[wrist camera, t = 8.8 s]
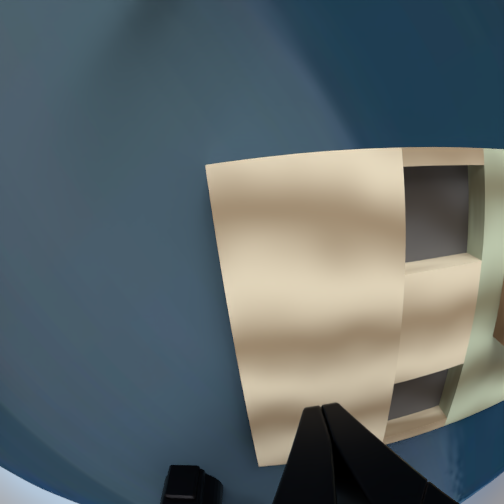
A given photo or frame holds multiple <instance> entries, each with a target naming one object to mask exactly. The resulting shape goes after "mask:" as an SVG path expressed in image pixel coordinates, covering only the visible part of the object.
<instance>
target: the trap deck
mask: <svg viewBox="0 0 504 504" xmlns="http://www.w3.org/2000/svg"><path fill="white" fill-rule="evenodd" d="M205 166H206V173H207V180H208V187H209V194H210V201H211V208H212V214H213V221H214V227H215V234H216V240H217V246H218V253H219V259H220V265H221V271H222V277H223V283H224V289H225V295H226V300H227V306H228V312H229V318H230V323H231V329H232V334H233V340H234V345H235V351H236V356H237V361H238V367H239V372H240V377H241V382H242V388H243V393H244V398H245V403H246V408H247V413H248V418H249V423H250V427H251V432H252V437H253V442H254V447H255V451H256V456H257V461H258V465H259V467H260V466H271V465H280V464H286V463H287V460H288V457H289V454H290V451H291V448H292V445H293V441H294V438H295V435H296V432H297V428H298V425H299V422H300V418H301V415H302V412H303V409H304V408H305V407H310V406H317V405H319V406H320V407H321V406H322V405H323V404H328V403H334V402H337V403H339V404H340V405H341V406H342V407H343V408H344V409H346V410H347V411H348V412H349V413H350V414H351V415H352V416H353V417H355V418H356V419H357V420H358V421H359V422H360V423H361V424H362V425H364V426H365V427H366V428H367V429H368V430H369V431H370V432H371V433H373V434H374V435H375V436H376V437H377V438H378V439H380V440H381V441H382V442H383V443H384V444H385V445H386V444H389V443H393V442H396V441H400V440H403V439H406V438H410V437H413V436H416V435H419V434H422V433H425V432H428V431H431V430H434V429H437V428H439V427H442V426H445V425H448V424H450V423H453V422H455V421H458V420H460V419H463V418H465V417H468V416H470V415H472V414H475V413H477V412H479V411H482V410H484V409H486V408H488V407H490V406H492V405H495V404H497V403H499V402H501V401H503V400H504V346H503V345H502V344H501V343H500V342H499V341H497V340H496V339H495V338H494V337H493V332H494V328H495V323H496V319H497V314H498V309H499V304H500V298H501V292H502V286H503V279H504V149H485V148H453V147H408V148H375V149H354V150H338V151H324V152H311V153H300V154H290V155H280V156H271V157H262V158H254V159H246V160H238V161H231V162H223V163H217V164H210V165H205Z"/></svg>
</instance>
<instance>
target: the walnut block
mask: <svg viewBox="0 0 504 504" xmlns="http://www.w3.org/2000/svg"><path fill="white" fill-rule="evenodd" d="M493 337H494V338H495V339H496V340H497V341H499V342H500V343H501V344H502V345H503V346H504V279H503V286H502V292H501V298H500V304H499V309H498V314H497V319H496V323H495V328H494V332H493Z"/></svg>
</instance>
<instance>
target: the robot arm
mask: <svg viewBox="0 0 504 504" xmlns="http://www.w3.org/2000/svg"><path fill="white" fill-rule="evenodd" d="M222 493H223V486H222V484H221V482H220V481H219V480H217V479H216V478H214V477H212V476H210V475H208V474H206V473H205V471H204V470H203V469H200V467H199V466H192V465H171V466H170V468H169V472H168V475H167V476H166V479H165V483H164V488H163V492H162V497H161V502H160V504H222ZM272 504H459V503H458V502H456V501H455V500H453V499H452V498H450V497H449V496H448V495H446V494H445V493H444V492H442V491H441V490H440V489H438V488H437V487H436V486H435V485H433V484H432V483H431V482H427V479H426V478H425V477H423V476H422V475H421V474H420V473H419V472H417V471H416V470H415V469H414V468H413V467H411V466H410V465H409V464H408V463H407V462H405V461H404V460H403V459H402V458H401V457H399V456H398V455H397V454H396V453H395V452H394V451H392V450H391V449H390V448H389V447H388V446H386V445H385V444H384V443H383V442H382V441H381V440H380V439H378V438H377V437H376V436H375V435H374V434H373V433H371V432H370V431H369V430H368V429H367V428H366V427H365V426H364V425H362V424H361V423H360V422H359V421H358V420H357V419H356V418H355V417H353V416H352V415H351V414H350V413H349V412H348V411H347V410H346V409H344V408H343V407H342V406H341V405H340V404H339V403H337V402H334V403H328V404H323V405H322V406H321V407H320V406H319V405H317V406H310V407H305V408H304V409H303V412H302V415H301V418H300V422H299V425H298V428H297V432H296V435H295V438H294V441H293V445H292V448H291V451H290V454H289V457H288V460H287V463H286V466H285V469H284V472H283V475H282V478H281V481H280V483H279V486H278V489H277V492H276V495H275V497H274V500H273V503H272Z"/></svg>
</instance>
